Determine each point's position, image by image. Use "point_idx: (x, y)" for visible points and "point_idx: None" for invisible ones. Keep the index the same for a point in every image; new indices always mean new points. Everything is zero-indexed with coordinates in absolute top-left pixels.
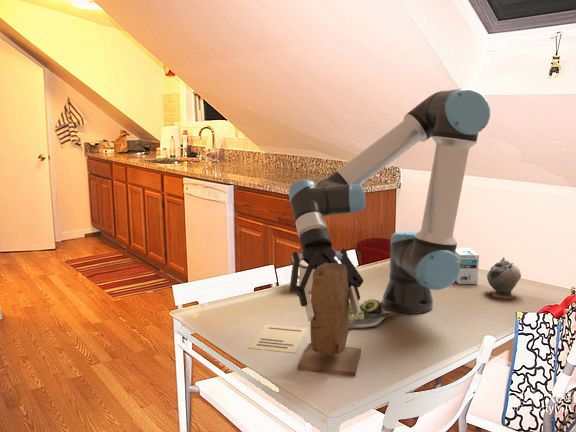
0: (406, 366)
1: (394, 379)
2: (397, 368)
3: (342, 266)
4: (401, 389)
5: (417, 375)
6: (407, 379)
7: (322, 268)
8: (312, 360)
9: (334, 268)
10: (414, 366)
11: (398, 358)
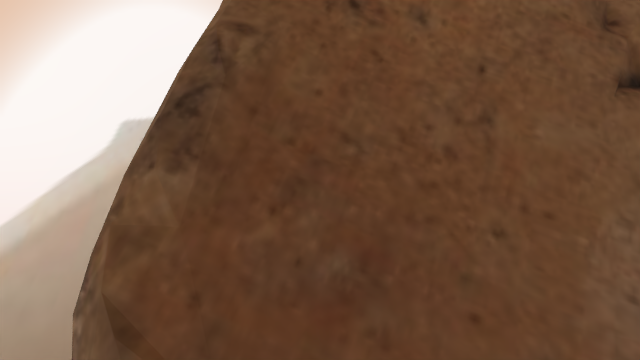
0: (37, 283)
1: (117, 188)
2: (78, 265)
3: (199, 118)
4: (117, 132)
5: (28, 217)
6: (74, 189)
7: (624, 92)
8: None
9: (386, 85)
10: (6, 285)
11: (40, 355)
